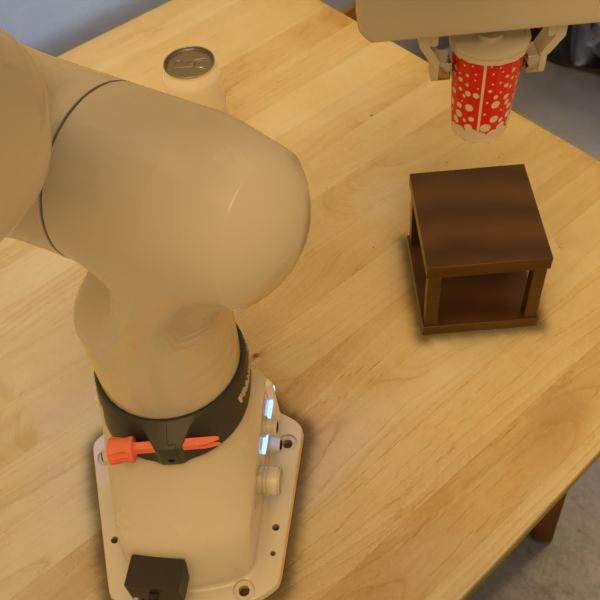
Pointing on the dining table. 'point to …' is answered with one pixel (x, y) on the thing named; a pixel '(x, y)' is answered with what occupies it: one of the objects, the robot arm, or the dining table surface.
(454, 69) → the beverage cup
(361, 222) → the dining table surface
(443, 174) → the shelf
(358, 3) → the robot arm
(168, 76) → the can
